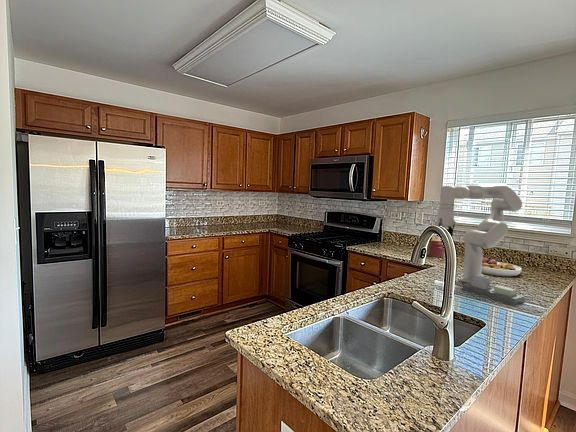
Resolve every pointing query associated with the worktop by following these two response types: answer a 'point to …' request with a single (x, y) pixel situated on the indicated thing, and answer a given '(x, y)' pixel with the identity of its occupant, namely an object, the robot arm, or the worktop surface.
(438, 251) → the canister
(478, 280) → the medicine box
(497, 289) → the green clip block
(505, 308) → the worktop surface
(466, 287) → the gray rectangular tray
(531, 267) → the worktop surface
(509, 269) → the bowl
